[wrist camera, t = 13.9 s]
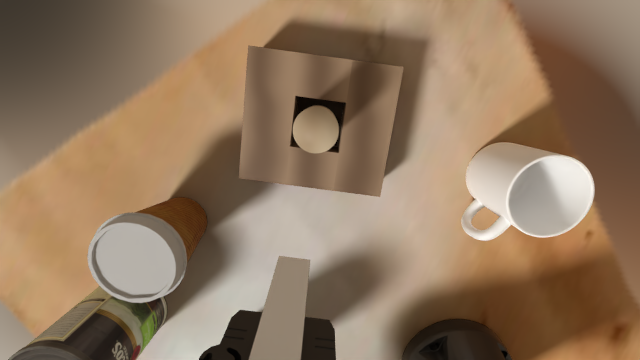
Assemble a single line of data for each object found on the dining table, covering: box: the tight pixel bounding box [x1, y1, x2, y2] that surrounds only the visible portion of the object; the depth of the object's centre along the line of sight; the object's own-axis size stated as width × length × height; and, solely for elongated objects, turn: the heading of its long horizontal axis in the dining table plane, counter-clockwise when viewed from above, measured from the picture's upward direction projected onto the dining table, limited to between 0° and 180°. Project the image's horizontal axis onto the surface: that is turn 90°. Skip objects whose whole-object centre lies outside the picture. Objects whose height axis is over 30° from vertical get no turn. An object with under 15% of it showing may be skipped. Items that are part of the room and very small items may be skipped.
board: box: [239, 46, 404, 197], centre depth 38 cm, size 16×14×5 cm
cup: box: [461, 142, 594, 241], centre depth 37 cm, size 8×12×10 cm
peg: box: [293, 105, 339, 153], centre depth 34 cm, size 4×4×12 cm
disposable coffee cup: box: [88, 197, 207, 303], centre depth 38 cm, size 10×10×12 cm
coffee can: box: [8, 286, 167, 360], centre depth 40 cm, size 10×10×14 cm
